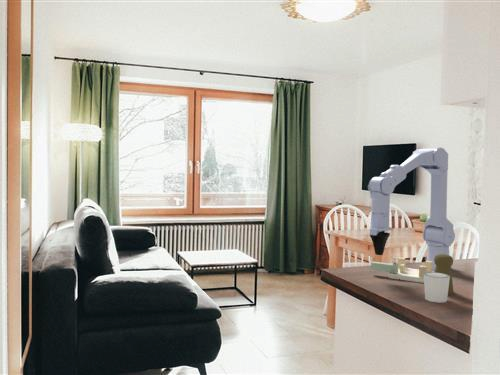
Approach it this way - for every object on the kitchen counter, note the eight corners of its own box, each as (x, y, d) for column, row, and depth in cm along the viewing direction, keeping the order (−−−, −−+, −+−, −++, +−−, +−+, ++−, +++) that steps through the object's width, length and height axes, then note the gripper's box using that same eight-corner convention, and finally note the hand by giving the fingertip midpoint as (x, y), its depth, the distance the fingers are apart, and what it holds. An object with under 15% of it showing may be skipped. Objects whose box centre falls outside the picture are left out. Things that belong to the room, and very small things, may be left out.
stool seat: (398, 271, 161) (398, 257, 160) (434, 275, 154) (434, 261, 154) (388, 277, 151) (388, 262, 150) (426, 283, 144) (426, 267, 144)
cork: (455, 294, 131) (457, 257, 131) (433, 293, 133) (434, 256, 132) (451, 289, 137) (452, 253, 137) (429, 288, 138) (430, 252, 138)
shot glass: (417, 296, 129) (418, 272, 129) (438, 295, 131) (439, 271, 130) (433, 304, 122) (433, 278, 122) (454, 302, 124) (455, 277, 124)
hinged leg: (399, 272, 151) (399, 262, 151) (397, 273, 149) (397, 263, 149) (373, 268, 156) (373, 259, 156) (370, 269, 154) (371, 260, 154)
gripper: (386, 216, 141) (384, 259, 141) (398, 212, 153) (397, 252, 153) (363, 214, 144) (362, 256, 145) (377, 211, 157) (376, 250, 157)
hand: (379, 254), depth 149 cm, fingers closed
